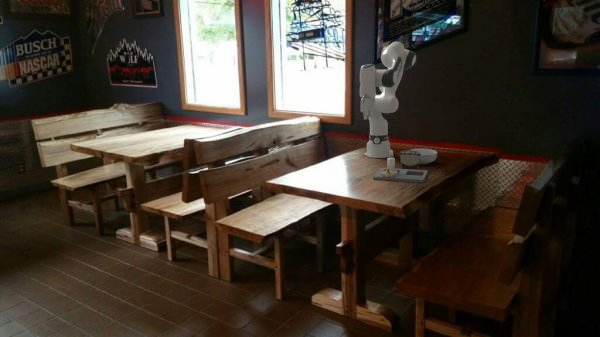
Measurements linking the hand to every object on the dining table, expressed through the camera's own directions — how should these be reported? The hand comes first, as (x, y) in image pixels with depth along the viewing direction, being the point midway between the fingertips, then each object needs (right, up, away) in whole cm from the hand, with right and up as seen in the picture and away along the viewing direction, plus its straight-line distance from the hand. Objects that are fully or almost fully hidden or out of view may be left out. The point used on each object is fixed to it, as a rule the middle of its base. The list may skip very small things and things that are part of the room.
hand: (367, 118), depth 280 cm
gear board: (+16, -33, -13) cm, 39 cm away
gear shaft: (+12, -32, -9) cm, 35 cm away
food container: (+25, -29, +3) cm, 38 cm away
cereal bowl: (+35, -26, +15) cm, 46 cm away
